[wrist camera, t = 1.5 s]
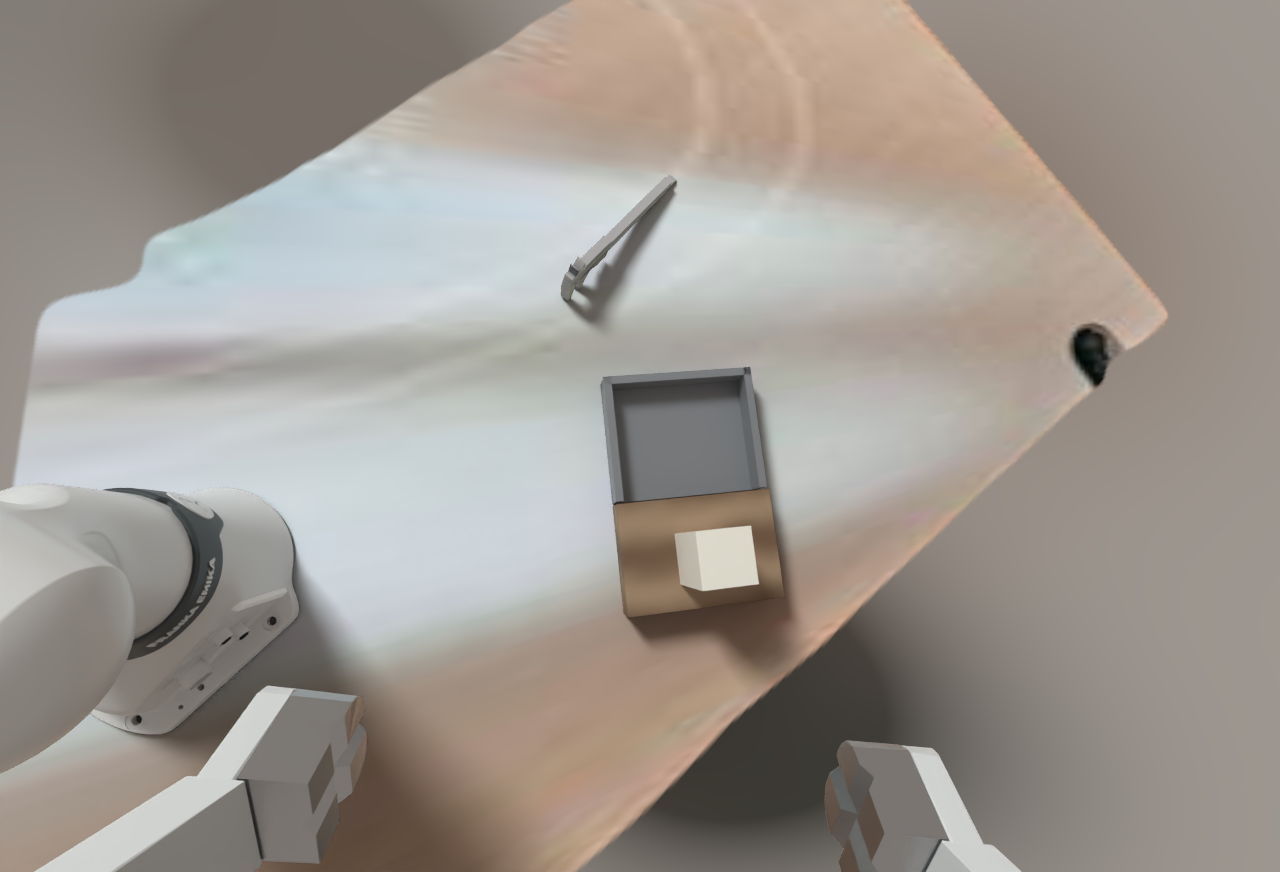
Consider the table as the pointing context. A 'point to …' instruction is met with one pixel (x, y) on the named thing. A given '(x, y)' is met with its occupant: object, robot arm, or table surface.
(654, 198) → the caliper
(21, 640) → the robot arm
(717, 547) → the block
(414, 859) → the table surface
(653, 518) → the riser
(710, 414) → the bin
